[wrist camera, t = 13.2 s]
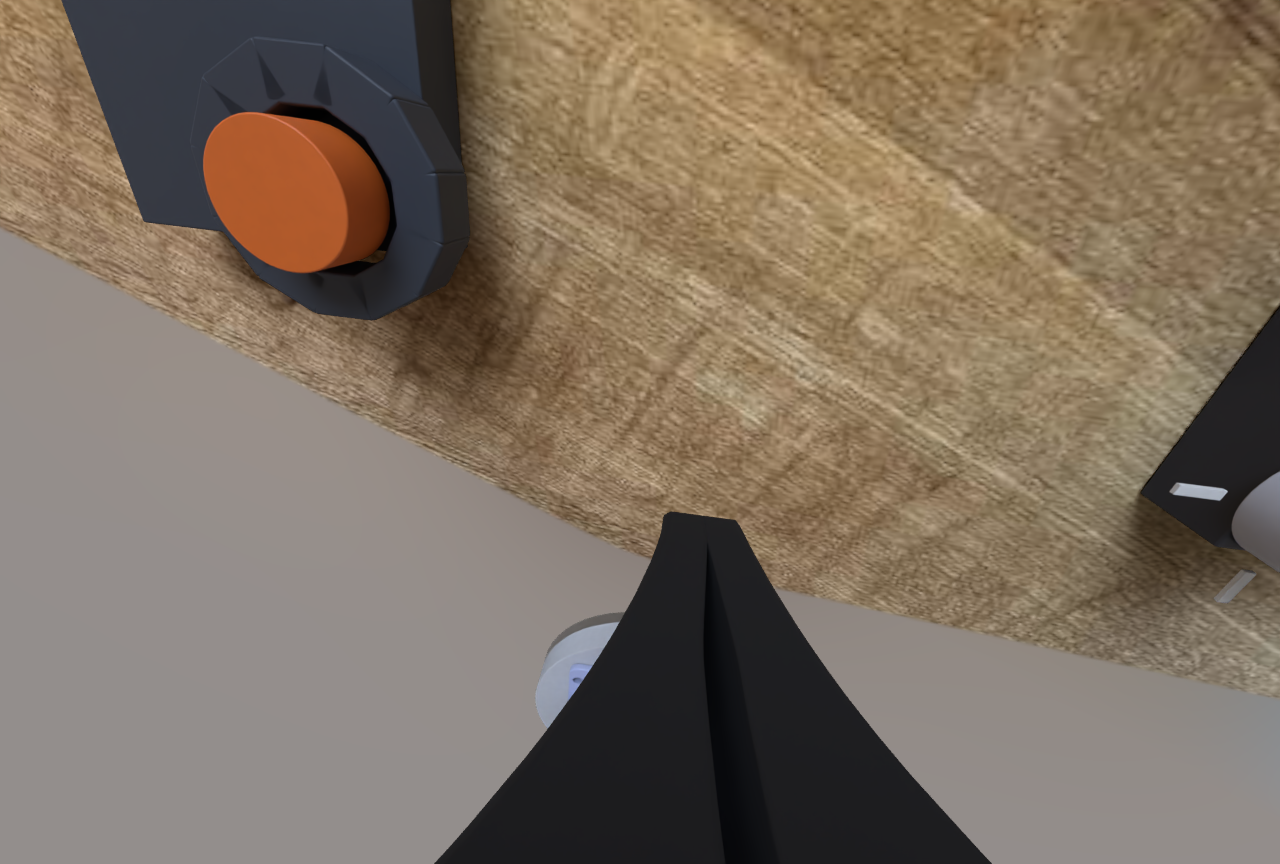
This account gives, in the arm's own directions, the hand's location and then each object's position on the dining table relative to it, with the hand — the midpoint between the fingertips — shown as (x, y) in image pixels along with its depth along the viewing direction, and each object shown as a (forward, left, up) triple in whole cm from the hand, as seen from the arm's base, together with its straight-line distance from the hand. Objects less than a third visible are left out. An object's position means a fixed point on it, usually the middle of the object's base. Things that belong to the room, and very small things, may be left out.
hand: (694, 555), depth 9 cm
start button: (+5, +10, -6) cm, 13 cm away
